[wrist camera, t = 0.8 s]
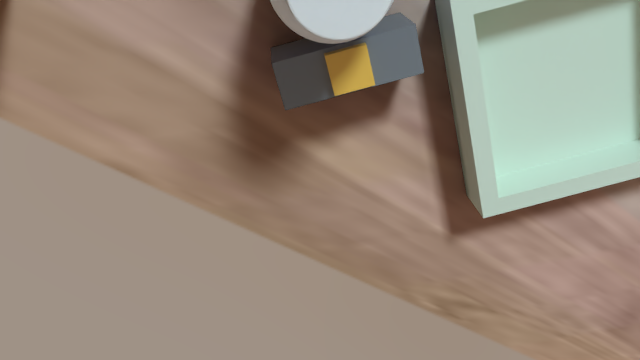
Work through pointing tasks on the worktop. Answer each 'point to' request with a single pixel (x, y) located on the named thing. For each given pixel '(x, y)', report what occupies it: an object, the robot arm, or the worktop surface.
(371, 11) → the pill bottle
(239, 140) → the worktop surface
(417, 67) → the block
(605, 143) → the tray
